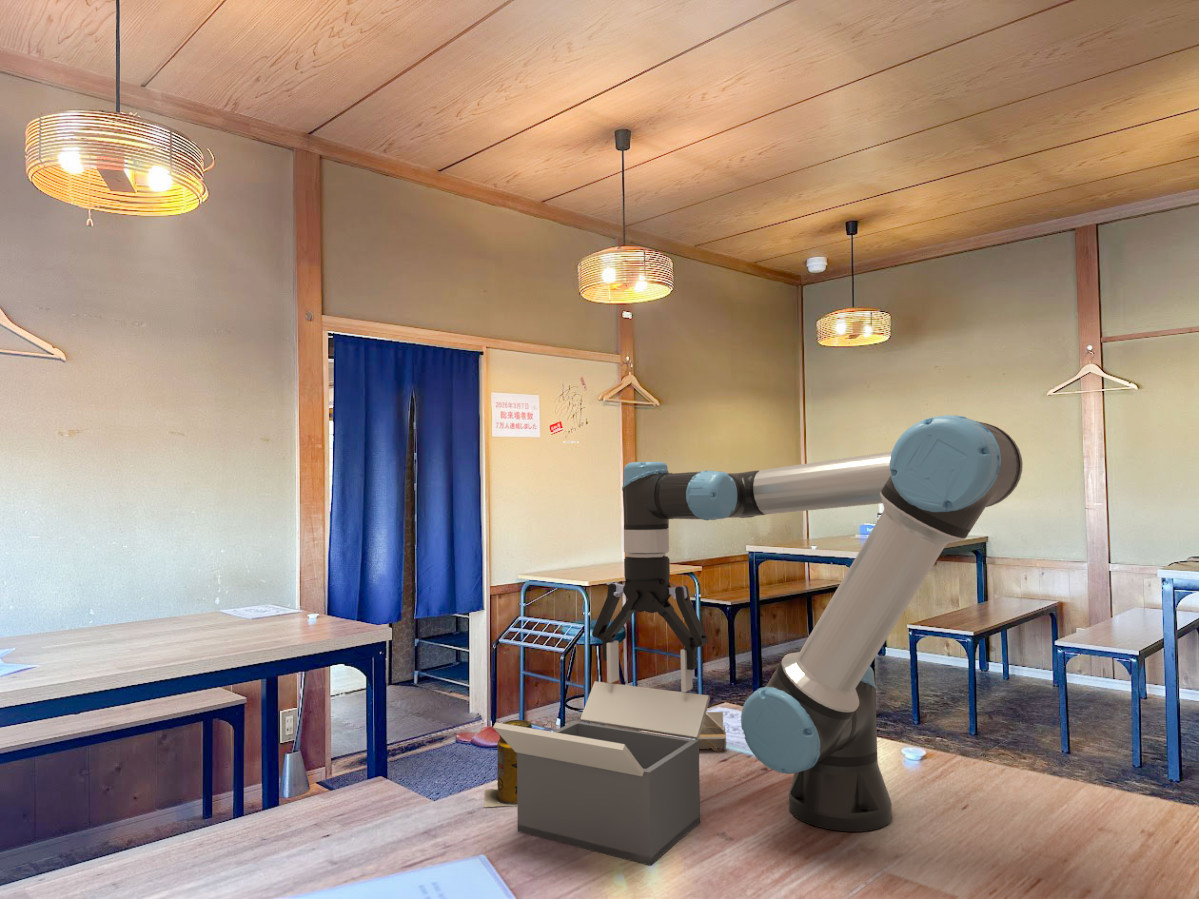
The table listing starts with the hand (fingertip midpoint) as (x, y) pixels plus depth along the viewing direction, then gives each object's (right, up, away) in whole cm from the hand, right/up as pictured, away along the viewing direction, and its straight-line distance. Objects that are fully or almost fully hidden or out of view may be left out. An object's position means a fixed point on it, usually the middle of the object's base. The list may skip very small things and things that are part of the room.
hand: (649, 685), depth 128 cm
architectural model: (+13, -20, +23) cm, 33 cm away
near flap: (-13, -2, -21) cm, 24 cm away
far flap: (-1, -3, -2) cm, 4 cm away
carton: (-7, -17, -12) cm, 22 cm away
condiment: (-23, -19, 0) cm, 29 cm away
